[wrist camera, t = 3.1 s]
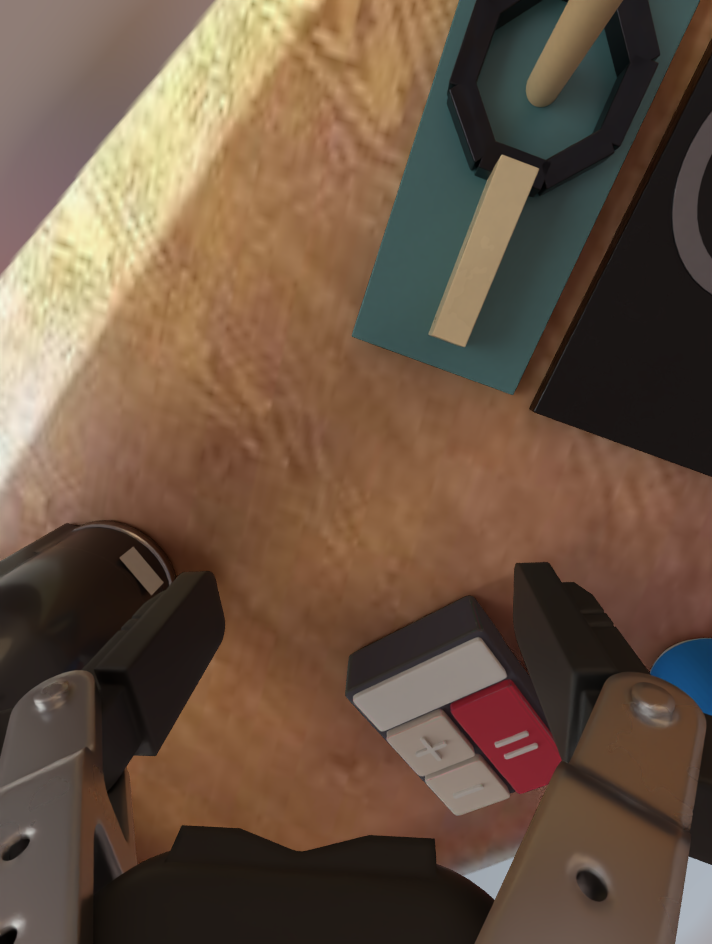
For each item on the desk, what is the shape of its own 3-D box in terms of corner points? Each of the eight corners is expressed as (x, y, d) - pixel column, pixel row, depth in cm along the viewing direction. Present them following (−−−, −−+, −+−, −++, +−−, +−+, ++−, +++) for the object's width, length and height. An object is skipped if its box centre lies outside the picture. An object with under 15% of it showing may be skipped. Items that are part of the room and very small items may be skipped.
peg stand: (352, 336, 25) (319, 339, 14) (489, -87, 19) (615, -664, 8) (509, 392, 25) (592, 439, 14) (696, -7, 19) (1098, -461, 8)
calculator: (454, 826, 32) (340, 704, 28) (446, 768, 36) (346, 655, 32) (590, 779, 29) (485, 636, 25) (565, 722, 33) (471, 592, 29)
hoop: (498, -63, 18) (515, -130, 15) (677, 6, 18) (725, -48, 16) (373, 314, 23) (369, 312, 21) (512, 365, 24) (526, 369, 21)
